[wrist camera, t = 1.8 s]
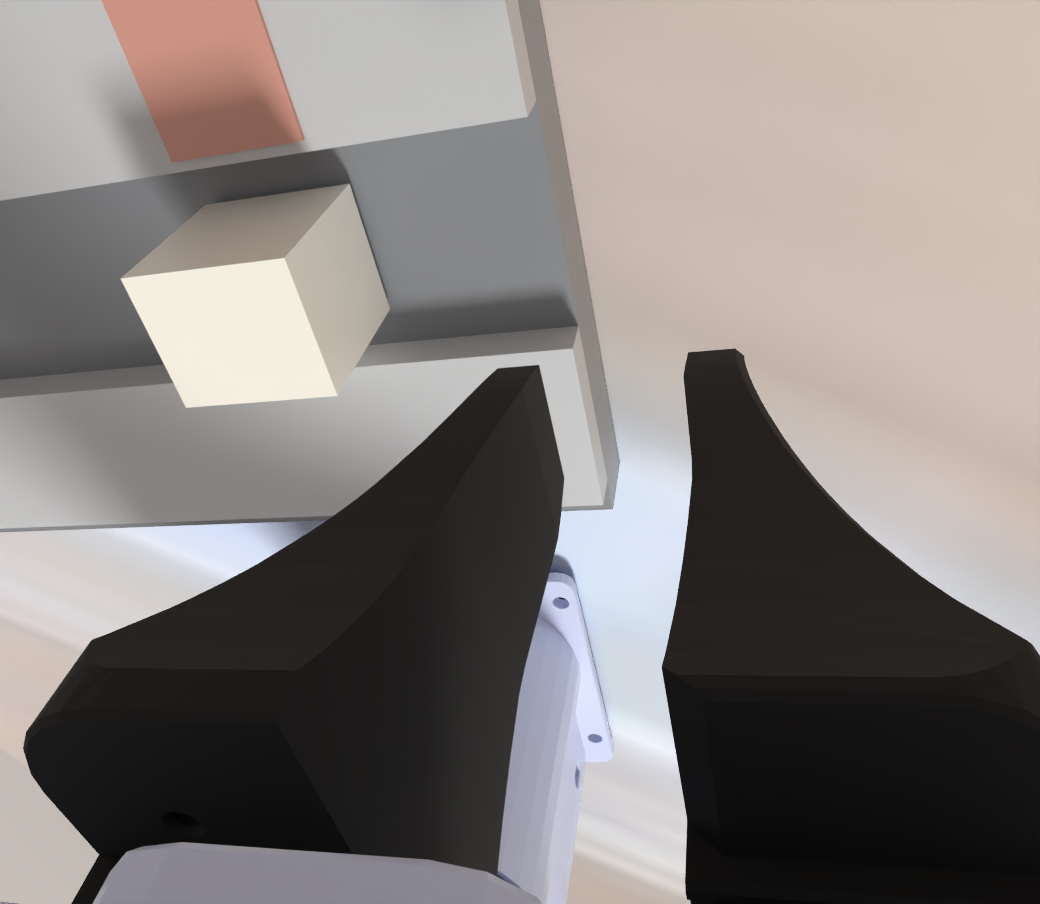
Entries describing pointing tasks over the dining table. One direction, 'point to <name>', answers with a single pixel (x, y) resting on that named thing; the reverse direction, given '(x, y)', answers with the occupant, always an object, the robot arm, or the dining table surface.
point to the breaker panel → (268, 171)
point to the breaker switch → (262, 298)
